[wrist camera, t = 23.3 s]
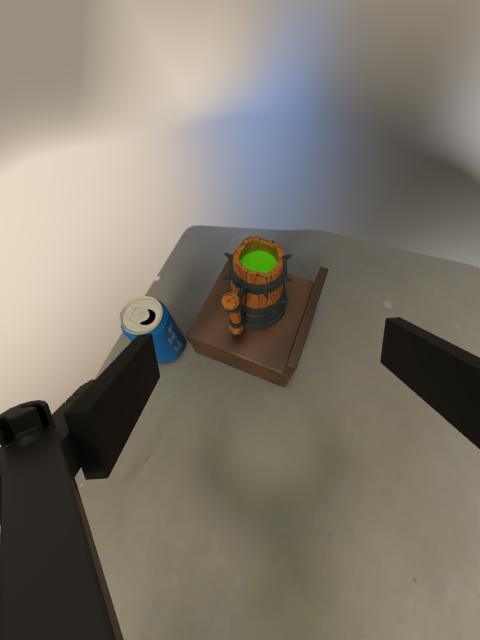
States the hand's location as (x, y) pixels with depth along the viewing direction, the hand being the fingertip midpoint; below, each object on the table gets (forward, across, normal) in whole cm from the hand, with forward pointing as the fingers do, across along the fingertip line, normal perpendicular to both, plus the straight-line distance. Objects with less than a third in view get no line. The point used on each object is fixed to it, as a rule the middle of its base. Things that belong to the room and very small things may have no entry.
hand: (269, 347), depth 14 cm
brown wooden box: (+29, +1, -10) cm, 31 cm away
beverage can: (+28, -14, -12) cm, 33 cm away
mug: (+24, 0, -5) cm, 25 cm away
